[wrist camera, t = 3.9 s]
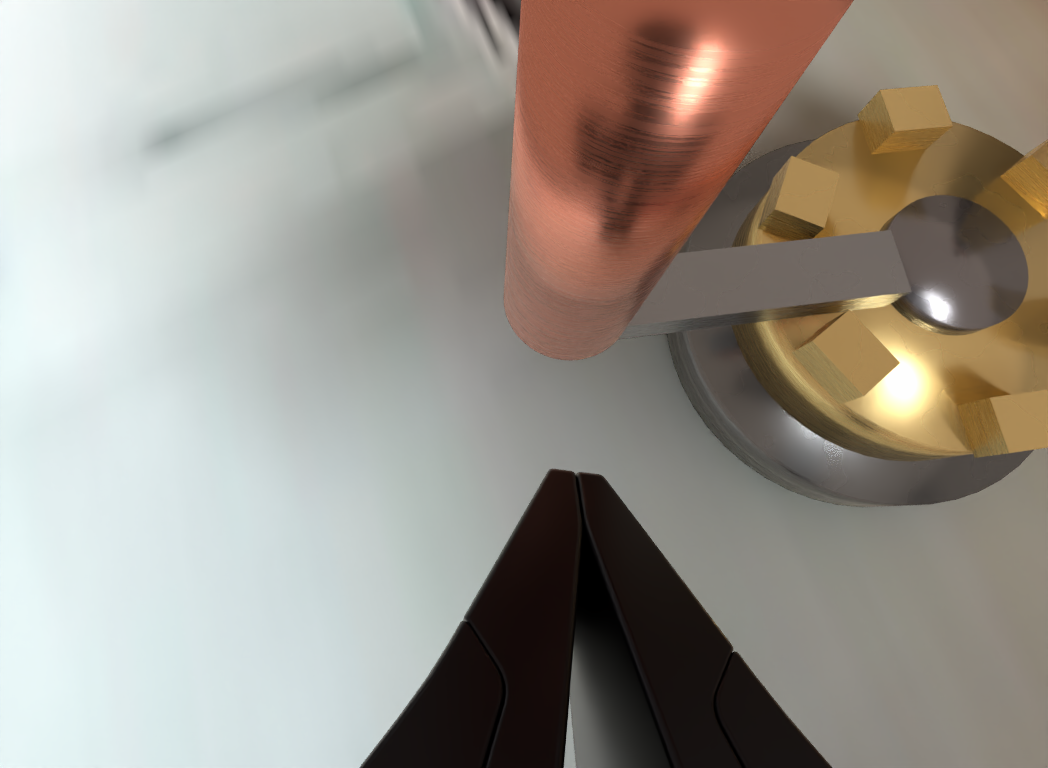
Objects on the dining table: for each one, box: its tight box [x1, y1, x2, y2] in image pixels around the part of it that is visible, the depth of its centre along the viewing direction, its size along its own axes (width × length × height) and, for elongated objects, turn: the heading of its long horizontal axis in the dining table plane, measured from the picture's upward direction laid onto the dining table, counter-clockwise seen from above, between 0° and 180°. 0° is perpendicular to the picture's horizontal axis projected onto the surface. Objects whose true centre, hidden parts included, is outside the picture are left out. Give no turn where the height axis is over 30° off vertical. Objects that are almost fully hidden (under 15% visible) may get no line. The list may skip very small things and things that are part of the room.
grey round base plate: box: [667, 140, 1033, 507], centre depth 19 cm, size 13×13×2 cm
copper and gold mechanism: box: [504, 0, 1048, 462], centre depth 12 cm, size 18×11×12 cm, turn 98°
